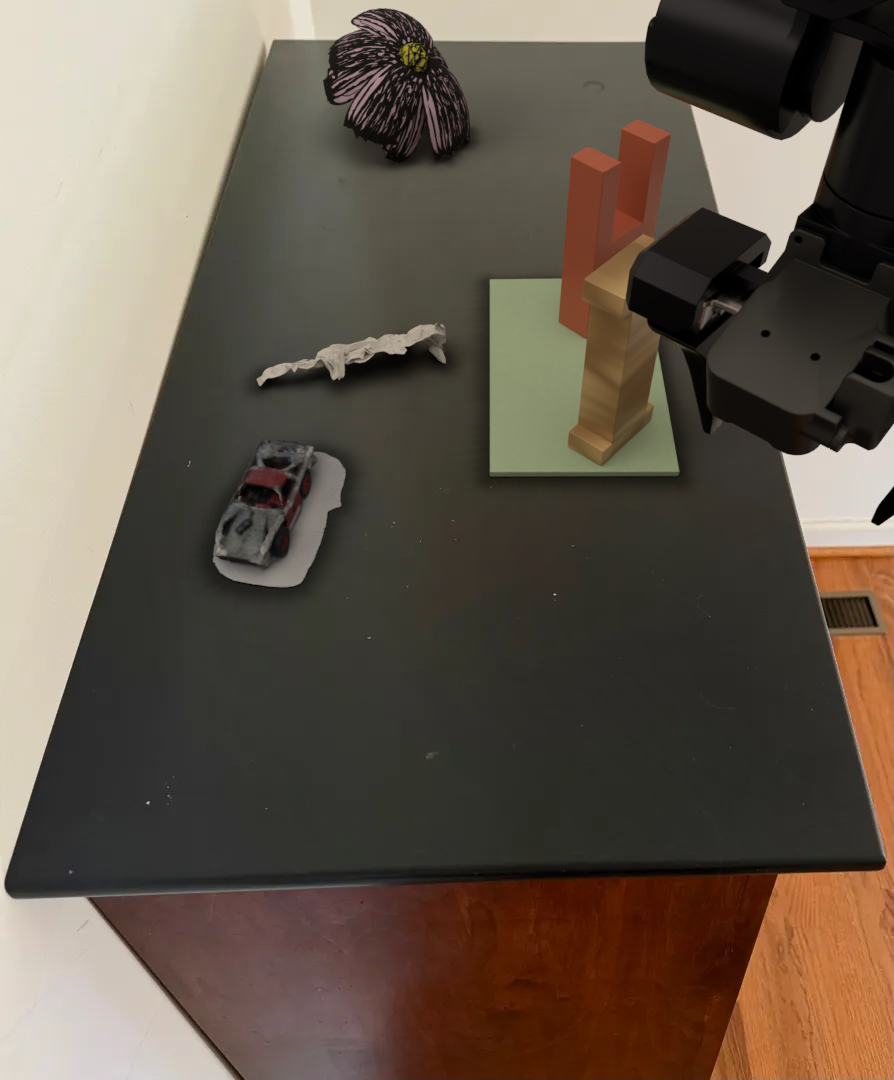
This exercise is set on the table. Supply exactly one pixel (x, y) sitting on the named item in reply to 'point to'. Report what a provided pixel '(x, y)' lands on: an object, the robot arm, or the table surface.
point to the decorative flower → (396, 86)
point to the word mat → (554, 393)
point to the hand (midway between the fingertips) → (791, 472)
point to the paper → (365, 351)
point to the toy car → (278, 514)
